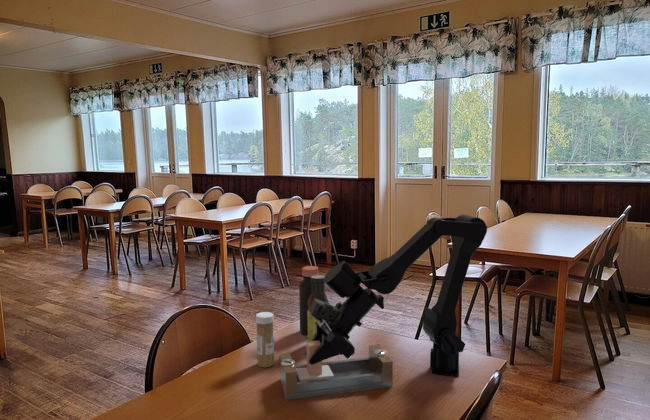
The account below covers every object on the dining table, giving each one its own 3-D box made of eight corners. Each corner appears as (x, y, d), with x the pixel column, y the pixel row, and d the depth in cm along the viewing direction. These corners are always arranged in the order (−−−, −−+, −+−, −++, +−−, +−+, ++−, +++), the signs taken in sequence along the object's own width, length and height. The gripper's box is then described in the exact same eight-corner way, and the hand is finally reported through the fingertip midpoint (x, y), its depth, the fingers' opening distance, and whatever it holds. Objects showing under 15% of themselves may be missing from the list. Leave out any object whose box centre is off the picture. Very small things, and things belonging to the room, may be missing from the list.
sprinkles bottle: (274, 367, 123) (273, 316, 121) (256, 368, 122) (255, 317, 120) (274, 359, 127) (273, 310, 125) (256, 360, 126) (255, 311, 125)
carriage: (328, 372, 116) (327, 337, 115) (333, 382, 111) (333, 346, 110) (295, 375, 115) (295, 340, 114) (299, 386, 109) (299, 349, 108)
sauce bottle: (329, 350, 133) (329, 280, 130) (307, 350, 133) (306, 280, 131) (329, 340, 139) (329, 273, 137) (308, 340, 140) (307, 273, 137)
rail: (379, 367, 122) (379, 342, 121) (393, 386, 112) (394, 359, 111) (278, 379, 116) (278, 352, 115) (284, 400, 107) (284, 371, 106)
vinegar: (295, 331, 147) (294, 267, 144) (313, 326, 151) (312, 264, 148) (308, 338, 141) (307, 271, 139) (326, 332, 146) (326, 268, 143)
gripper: (321, 277, 120) (278, 323, 119) (340, 300, 102) (289, 355, 101) (351, 305, 123) (309, 351, 122) (375, 332, 105) (326, 386, 104)
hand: (308, 359), depth 112 cm, fingers open, 4 cm apart
